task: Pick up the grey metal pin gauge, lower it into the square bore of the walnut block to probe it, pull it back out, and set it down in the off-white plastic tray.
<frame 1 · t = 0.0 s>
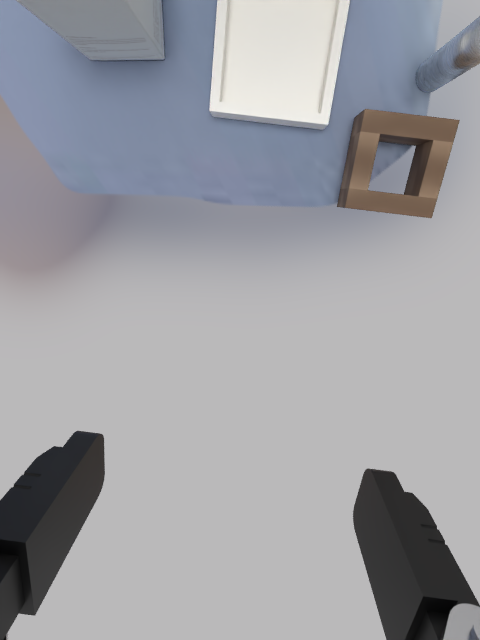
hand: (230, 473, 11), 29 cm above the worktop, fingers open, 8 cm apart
tray: (276, 57, 32), on the worktop
pin gauge: (430, 75, 32), on the worktop
supplement box: (123, 13, 31), on the worktop
bore block: (386, 168, 34), on the worktop
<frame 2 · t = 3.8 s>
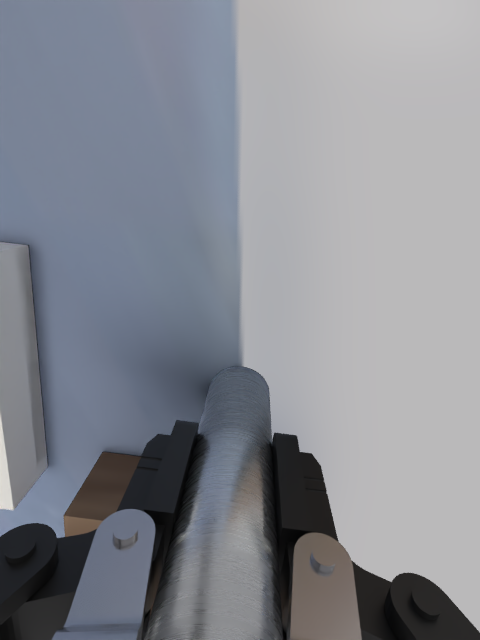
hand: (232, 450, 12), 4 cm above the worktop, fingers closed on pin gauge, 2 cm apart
pin gauge: (238, 393, 15), on the worktop, touching gripper
bore block: (182, 525, 18), on the worktop
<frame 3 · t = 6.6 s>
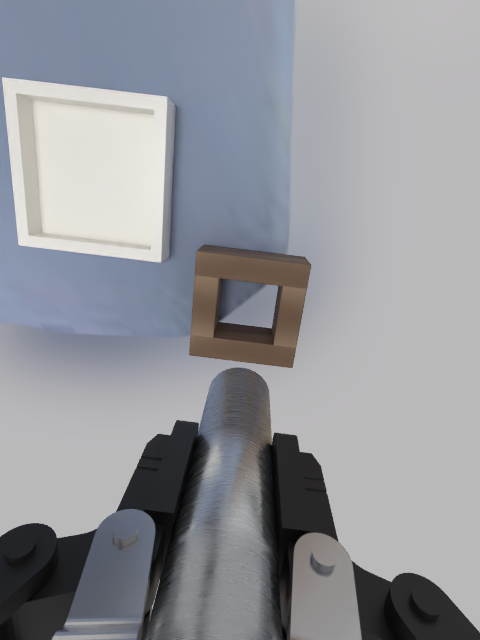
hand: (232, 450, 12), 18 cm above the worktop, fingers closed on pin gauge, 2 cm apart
tray: (102, 178, 26), on the worktop
pin gauge: (238, 394, 15), point 15 cm above the worktop, touching gripper
bore block: (248, 299, 29), on the worktop
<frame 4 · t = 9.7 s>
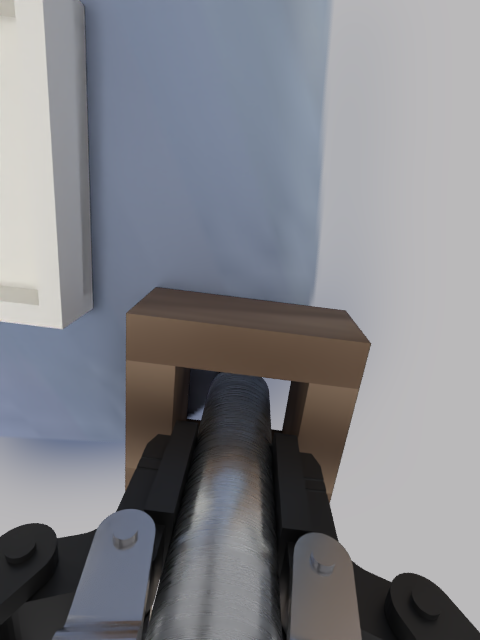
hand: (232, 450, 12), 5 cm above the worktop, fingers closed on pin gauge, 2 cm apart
pin gauge: (238, 394, 15), point 1 cm above the worktop, touching gripper
bore block: (239, 382, 16), on the worktop
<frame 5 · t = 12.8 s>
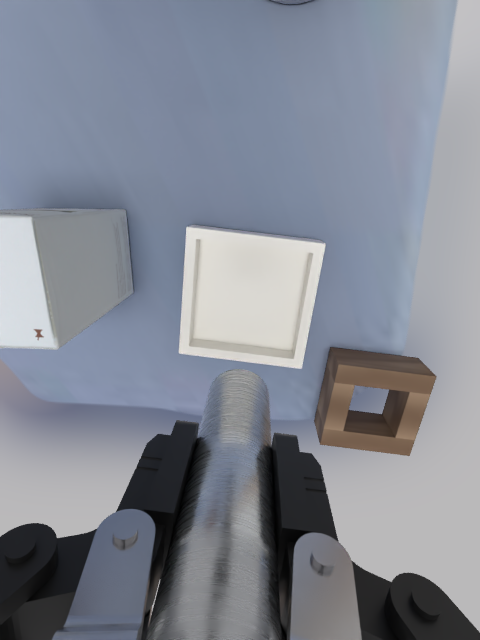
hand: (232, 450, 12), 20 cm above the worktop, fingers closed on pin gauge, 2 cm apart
tray: (248, 294, 31), on the worktop
pin gauge: (238, 396, 15), point 16 cm above the worktop, touching gripper
supplement box: (90, 251, 30), on the worktop
bore block: (364, 390, 33), on the worktop
when the fingers open (5 cm above the worktop, at t = 15.6 s): pin gauge stays where it is, resting on tray.
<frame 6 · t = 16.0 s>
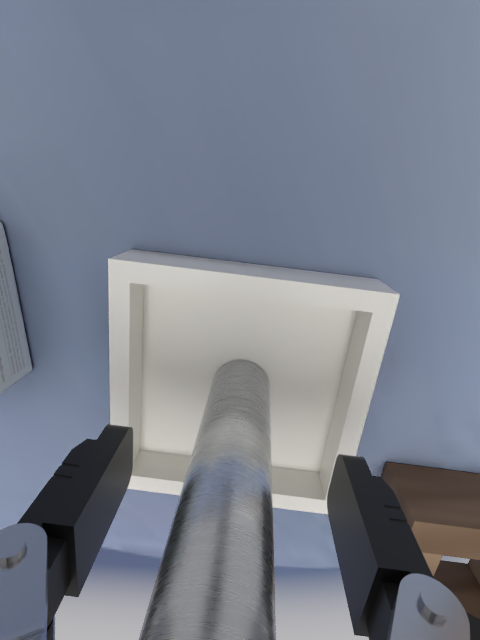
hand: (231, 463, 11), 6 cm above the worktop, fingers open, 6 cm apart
tray: (240, 373, 17), on the worktop
pin gauge: (241, 385, 16), point 1 cm above the worktop, touching tray
bore block: (440, 529, 19), on the worktop
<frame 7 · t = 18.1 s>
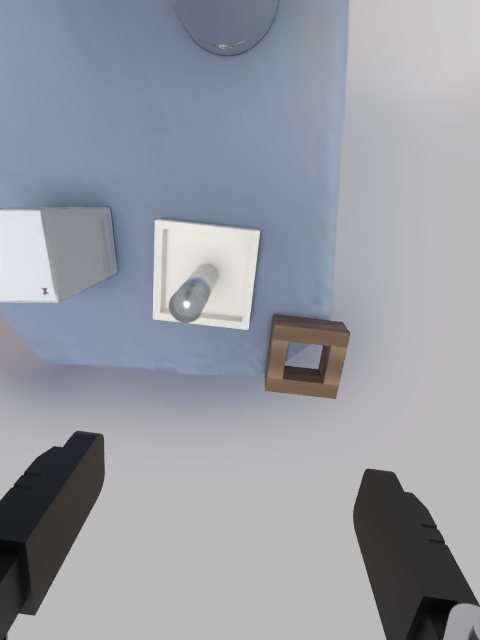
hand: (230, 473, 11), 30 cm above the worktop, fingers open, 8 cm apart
tray: (207, 272, 39), on the worktop
pin gauge: (206, 275, 38), point 1 cm above the worktop, touching tray
supplement box: (83, 240, 39), on the worktop
bore block: (302, 350, 42), on the worktop
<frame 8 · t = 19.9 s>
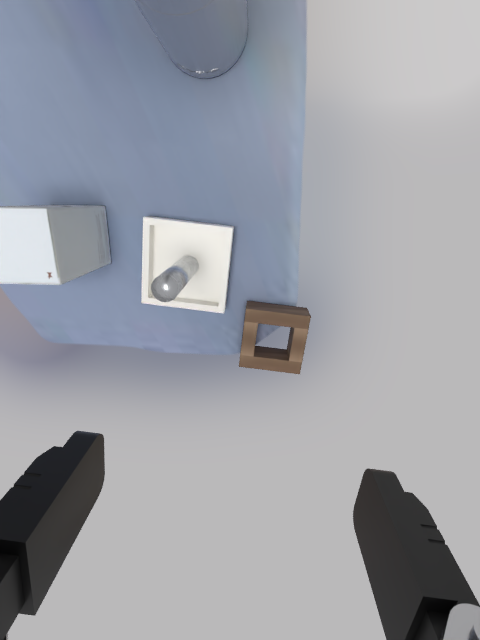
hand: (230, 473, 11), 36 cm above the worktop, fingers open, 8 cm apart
tray: (189, 263, 45), on the worktop
pin gauge: (188, 265, 44), point 1 cm above the worktop, touching tray
supplement box: (82, 234, 45), on the worktop
bore block: (272, 332, 48), on the worktop
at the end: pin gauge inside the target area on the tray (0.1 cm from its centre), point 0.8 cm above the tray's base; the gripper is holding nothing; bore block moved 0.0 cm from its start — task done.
